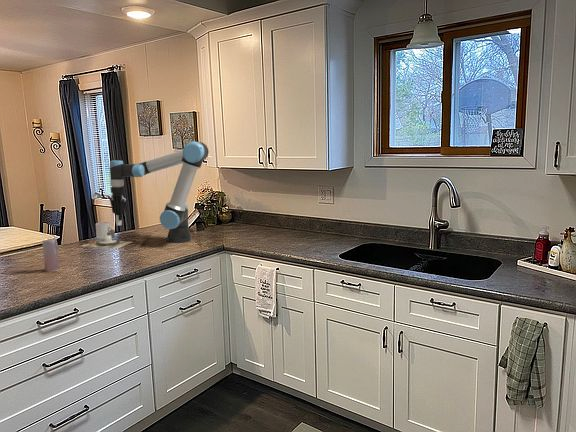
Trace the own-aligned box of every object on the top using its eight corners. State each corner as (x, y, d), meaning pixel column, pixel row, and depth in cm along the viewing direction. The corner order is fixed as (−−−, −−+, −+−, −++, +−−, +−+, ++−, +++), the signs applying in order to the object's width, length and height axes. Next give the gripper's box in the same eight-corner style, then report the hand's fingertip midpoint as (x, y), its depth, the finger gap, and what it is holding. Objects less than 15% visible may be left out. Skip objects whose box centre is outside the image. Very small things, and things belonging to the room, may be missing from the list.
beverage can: (48, 268, 214) (45, 238, 212) (61, 268, 215) (58, 238, 212) (42, 272, 208) (39, 241, 206) (55, 271, 209) (53, 241, 206)
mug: (118, 238, 283) (117, 222, 281) (110, 241, 275) (109, 225, 273) (102, 237, 286) (101, 221, 284) (93, 239, 278) (92, 224, 276)
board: (134, 243, 268) (133, 239, 268) (118, 250, 252) (118, 245, 251) (98, 241, 273) (97, 237, 272) (80, 248, 256) (80, 243, 256)
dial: (114, 245, 257) (113, 234, 256) (96, 245, 257) (95, 234, 255) (121, 240, 272) (120, 229, 271) (105, 240, 271) (104, 229, 270)
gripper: (130, 186, 261) (131, 225, 265) (114, 185, 267) (116, 223, 271) (119, 187, 255) (121, 227, 259) (104, 186, 261) (106, 225, 265)
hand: (119, 225), depth 265 cm, fingers closed
